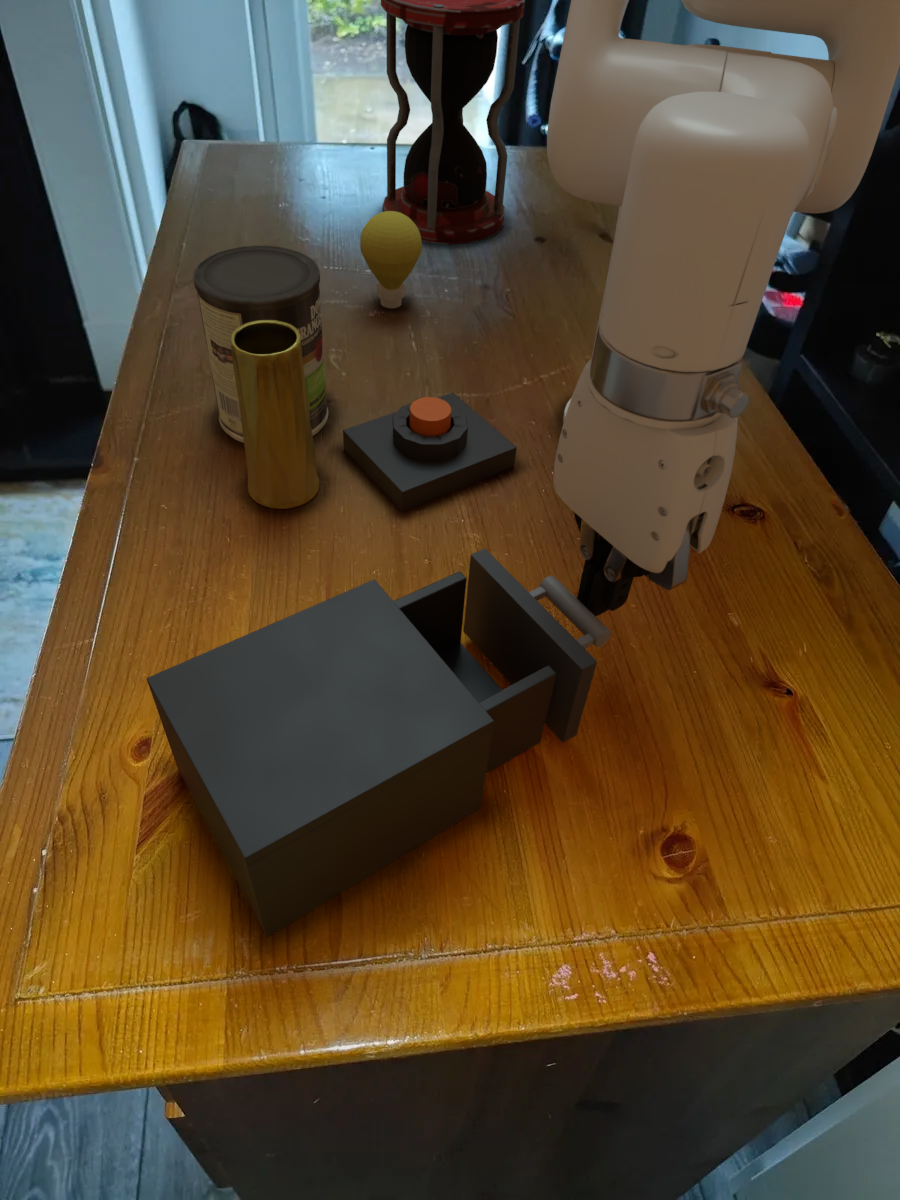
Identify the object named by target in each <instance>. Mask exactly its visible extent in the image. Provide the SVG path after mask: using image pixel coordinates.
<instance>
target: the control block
mask: <svg viewBox="0 0 900 1200" xmlns="http://www.w3.org/2000/svg"><path fill="white" fill-rule="evenodd" d="M437 398H439V399H442V400H444V401H446V402H447V403H448V404H449V405H450V407H451V426H450V429H449V431H448V432H447V433H445V434H442V435H439V436H423V435H420V434H417V433H414V432H413V431H412V430H411V428H410V406H411V404H412V403H413V402H411V403H408V404H404V405H402V406H401V407H400V408H399V409H398V410H397V411H395V412H392V413H388V414H386V415H383V416H380V417H377V418H375V419H371V420H369V421H365V422H362V423H360V424H356V425H354V426H351V427H348V428H345V429H343V430H342V442H343V451H344V452H345V453H346V454H347V455H348V456H349V457H350V458H351V459H352V460H353V461H354V462H355V463H356V465H357V466H358V467H359V468H360V469H361V470H362V471H363V472H364V473H365V474H366V475H367V476H368V477H369V478H370V480H371V481H372V482H374V484H376V486H377V487H378V488H379V489H380V490H381V491H382V492H383V493H384V494H385V495H386V496H387V497H388V499H389V500H390V501H391V502H392V503H393V504H394V505H395V506H396V507H397V508H398V510H399V511H401V512H405V511H407V510H410V509H413V508H414V507H418V506H420V505H422V504H425V503H427V502H429V501H433V500H435V499H437V498H439V497H443V496H444V495H447V494H449V493H452V492H455V491H457V490H459V489H462V488H465V487H467V486H469V485H472V484H474V483H477V482H480V481H482V480H484V479H488V478H489V477H492V476H495V475H497V474H500V473H502V472H504V471H506V470H510V469H511V468H515V464H516V463H515V462H516V456H517V446H516V445H515V444H513V443H512V442H511V441H510V440H509V439H507V438H506V436H504V435H503V434H502V433H501V432H500V431H499V430H497V428H495V427H494V426H493V425H492V424H491V423H489V422H488V421H487V420H486V419H484V418H483V416H481V415H480V413H477V411H476V410H474V409H473V408H472V407H471V406H469V405H468V404H467V403H466V402H465V401H464V400H463V399H462V398H460V397H459V396H458V395H457V394H456V393H455V392H450V393H448V394H444V395H441V396H438V397H437Z"/></svg>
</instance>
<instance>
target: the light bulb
mask: <svg viewBox="0 0 900 1200" xmlns="http://www.w3.org/2000/svg"><path fill="white" fill-rule="evenodd" d="M359 238H360V239H359V248H360V253H361V255H362V257H363V259H364V260H365V263H366V265H367V267H368V268H369V270H370V271H371V273H372V275H373V276H374V277H375V278H376V280H377V284H376V295H377V297H378V298H379V299H380V305H381V306H382V307H383V308H387V309H396V308H399V307H401V306H402V301H403V300H402V299H403V298H404V297H405V296H406V284H405V283H404V282H405V281H406V279H407V278H408V277H409V276H410V274H411V273H412V271H413V270H414V268H415V266H416V265H417V263H418V260H419V258H420V256H421V254H422V253H423V252H422V251H423V241H421V235H420V232H419V229H418V228H417V226H416V225H415V224H414V222H413V221H412V220H411V219H410V218H409V217H407V216H406V215H404V214H402V213H399V212H395V211H385V212H383V211H381V212H378V213H377V214H375V215H373V216H372V217H370V219H368V221H367V222H366V224H365V225H364V226H363V229H362V231H361V233H360V237H359Z"/></svg>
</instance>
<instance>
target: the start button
mask: <svg viewBox="0 0 900 1200" xmlns="http://www.w3.org/2000/svg"><path fill="white" fill-rule="evenodd" d="M411 403H412V404H411ZM411 403H410V404H411V406H410V428H411V430H412V431H413V432H414V433H417V434H420V435H423V436H439V435H442V434H445V433H447V432H448V431H449V429H450V426H451V407H450V405H449V404H448V403H447V402H446V401H444V400H442V399H439V398H438V397H434V396H425V397H421V398H417V399H416V400H414V401H413V402H411Z"/></svg>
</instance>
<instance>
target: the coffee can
mask: <svg viewBox="0 0 900 1200" xmlns="http://www.w3.org/2000/svg"><path fill="white" fill-rule="evenodd" d="M192 272H193V273H192V280H193V285H194V288H195V290H196V293H197V298H198V299H197V300H198V304H199V310H200V311H199V312H200V315H201V320H202V321H201V322H202V327H203V333H204V337H205V344H206V349H207V355H208V359H209V360H208V361H209V366H210V373H211V377H212V384H213V390H214V394H215V399H216V405H217V411H218V412H217V413H218V422H219V425H220V427H221V429H222V430H223V432H224V433H226V435H228V436H229V437H231V438H232V439H233V440H235V441H237V442H240V443H243V444H244V439H243V430H242V422H241V414H240V405H239V398H238V393H237V387H236V380H235V373H234V366H233V360H232V352H231V335H232V333H233V332H234V330H235V329H237V328H238V327H240V326H241V325H243V324H246V323H248V322H252V321H257V320H276V321H281V322H285V323H288V324H291V325H292V326H294V327H295V328H296V329H297V330H298V331H299V332H300V334H301V347H302V359H303V369H304V377H305V385H306V392H307V398H308V406H309V413H310V423H311V429H312V435H313V437H314V436H315V435H316V434H319V432H320V431H321V430H322V429H323V428H324V426H325V425H326V424H327V422H328V418H329V408H328V401H327V399H328V398H327V386H326V371H325V369H326V368H325V356H324V355H325V354H324V340H323V324H322V323H323V321H322V320H323V319H322V306H321V291H320V288H321V287H320V283H321V271H320V268H319V266H318V264H317V263H316V261H315V260H313V258H311V257H309V256H308V255H306V254H304V253H302V252H301V251H297V250H295V249H291V248H288V247H282V246H274V245H262V244H261V245H258V244H257V245H244V246H242V245H241V246H237V247H232V248H231V247H230V248H227V249H224V250H221V251H218V252H215V253H213V254H210V255H209V256H207V257H205V258H204V259H202V260H201V261H200V262H199V263H198V264H196V266H195V268H194V270H193V271H192Z"/></svg>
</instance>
